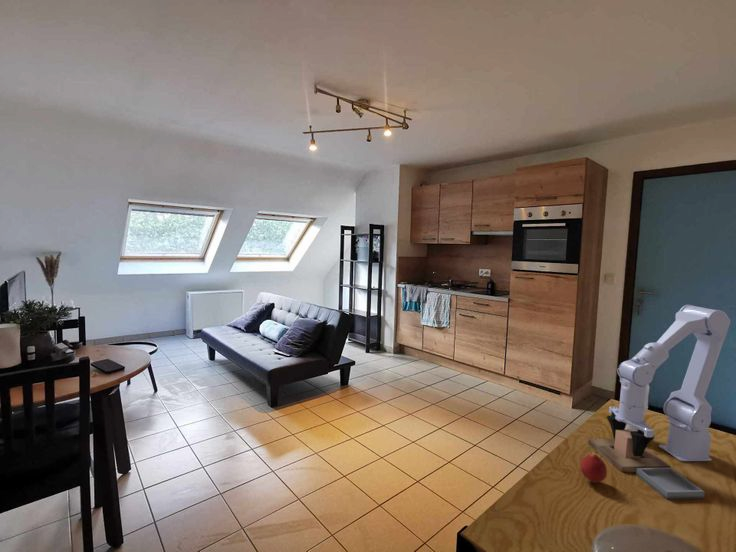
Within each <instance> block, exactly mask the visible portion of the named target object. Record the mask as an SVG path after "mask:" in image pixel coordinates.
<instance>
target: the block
mask: <svg viewBox="0 0 736 552" xmlns="http://www.w3.org/2000/svg"><path fill="white" fill-rule="evenodd" d="M630 431H631V430H616V434H615V444H614V450H615V451H616V452H617V453H619V454H620V455H621V456H622V457H624V458H640V457H641V456H634V455H633V440H632V436H631V434H630Z"/></svg>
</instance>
